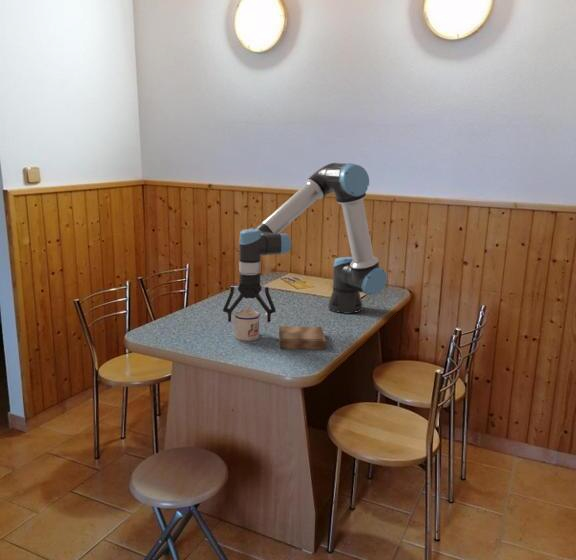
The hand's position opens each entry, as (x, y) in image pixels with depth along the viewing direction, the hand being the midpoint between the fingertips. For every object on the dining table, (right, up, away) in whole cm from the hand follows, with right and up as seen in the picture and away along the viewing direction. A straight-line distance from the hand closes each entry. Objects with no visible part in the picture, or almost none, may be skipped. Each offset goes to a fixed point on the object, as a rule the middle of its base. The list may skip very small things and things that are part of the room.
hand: (249, 330), depth 202 cm
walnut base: (+19, -4, -4) cm, 20 cm away
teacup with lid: (0, -2, +1) cm, 2 cm away
